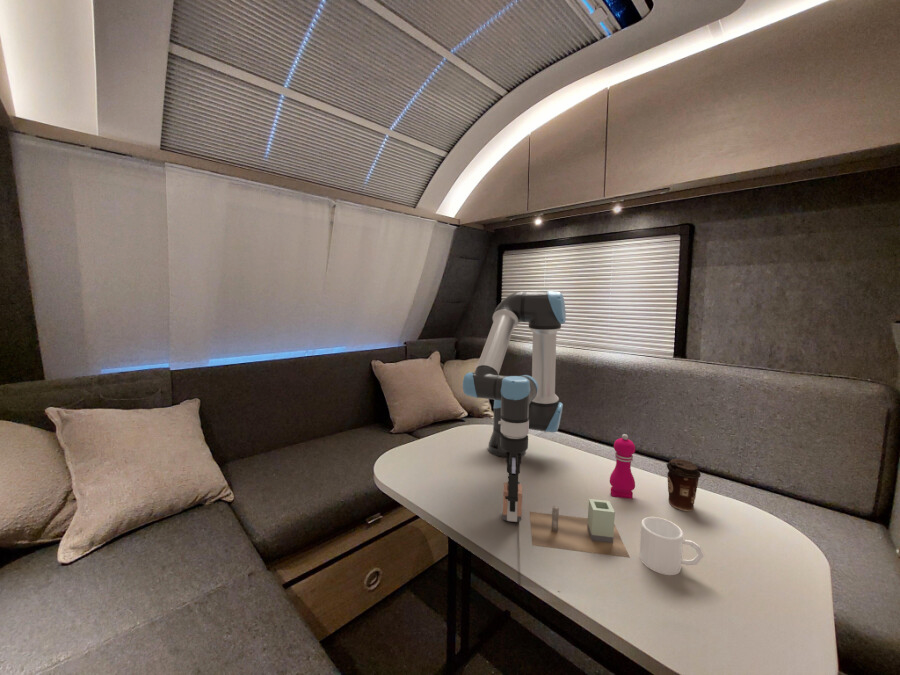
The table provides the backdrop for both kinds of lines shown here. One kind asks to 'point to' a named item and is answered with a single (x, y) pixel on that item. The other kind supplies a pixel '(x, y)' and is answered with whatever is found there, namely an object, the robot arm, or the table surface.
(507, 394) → the robot arm
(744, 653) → the table surface
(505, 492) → the terracotta sleeve
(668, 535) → the mug
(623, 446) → the pepper mill
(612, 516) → the sage sleeve
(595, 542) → the pin board
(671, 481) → the coffee cup
